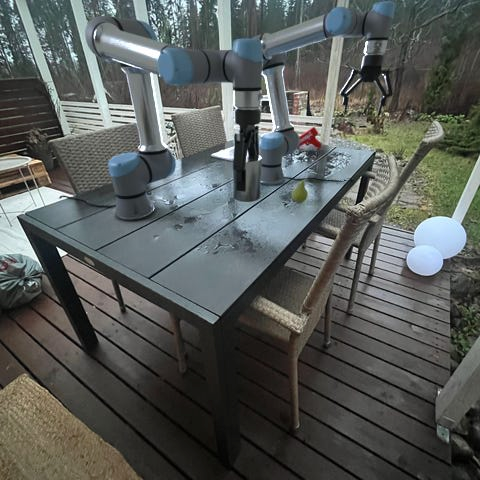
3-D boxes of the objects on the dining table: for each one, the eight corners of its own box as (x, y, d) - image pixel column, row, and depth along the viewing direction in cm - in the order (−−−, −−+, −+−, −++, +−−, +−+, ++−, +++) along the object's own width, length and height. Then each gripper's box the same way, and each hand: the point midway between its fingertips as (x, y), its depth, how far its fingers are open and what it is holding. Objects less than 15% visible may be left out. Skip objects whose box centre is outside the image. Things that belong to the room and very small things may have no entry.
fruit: (288, 200, 123) (290, 174, 116) (302, 197, 125) (305, 172, 119) (296, 206, 118) (299, 179, 111) (310, 203, 120) (314, 177, 114)
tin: (227, 196, 90) (226, 157, 83) (246, 189, 95) (247, 151, 88) (246, 204, 84) (246, 163, 77) (266, 196, 89) (268, 157, 82)
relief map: (253, 165, 166) (254, 157, 163) (211, 156, 184) (210, 148, 181) (276, 155, 184) (277, 147, 181) (235, 147, 202) (235, 140, 199)
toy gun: (325, 144, 195) (314, 126, 192) (324, 145, 192) (313, 127, 188) (303, 157, 205) (292, 140, 202) (302, 159, 202) (291, 142, 198)
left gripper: (245, 114, 65) (245, 200, 78) (271, 104, 82) (268, 176, 94) (217, 112, 68) (221, 196, 80) (248, 103, 85) (248, 173, 97)
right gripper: (341, 54, 104) (331, 114, 116) (412, 53, 99) (394, 116, 111) (339, 55, 111) (330, 112, 122) (406, 54, 106) (390, 113, 117)
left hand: (246, 185), depth 87 cm, fingers closed on tin, 9 cm apart
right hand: (361, 114), depth 116 cm, fingers open, 13 cm apart
